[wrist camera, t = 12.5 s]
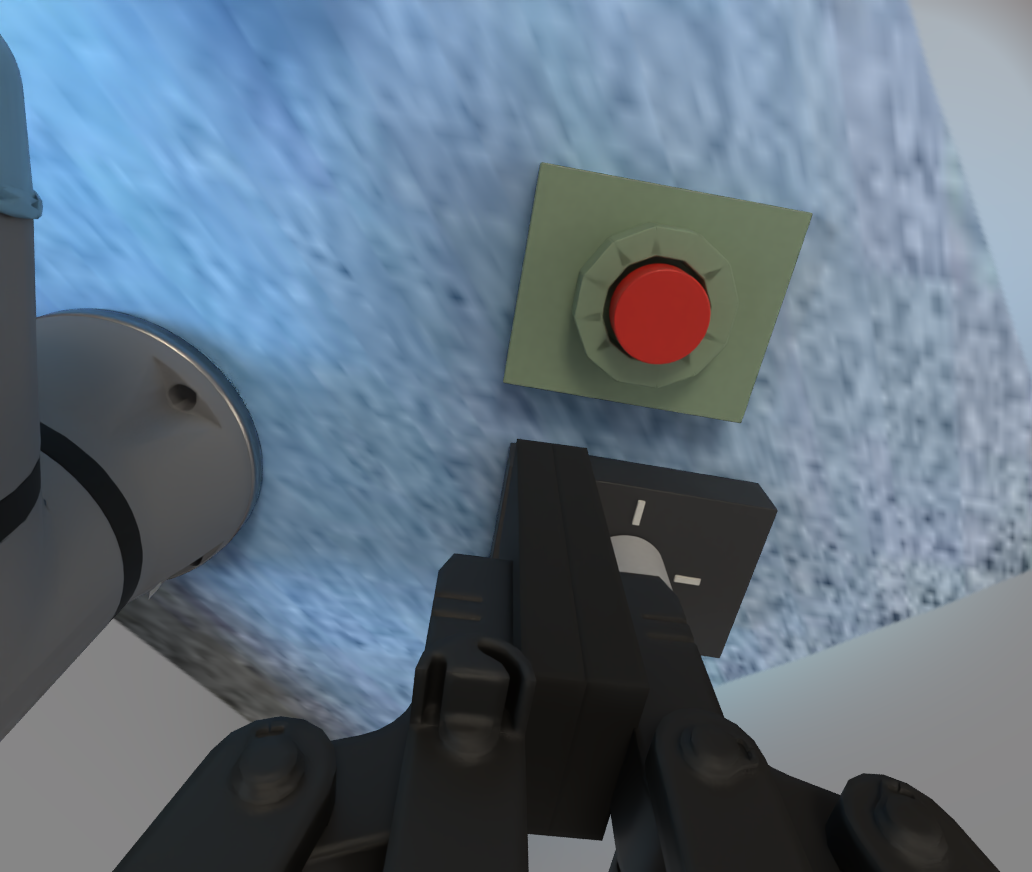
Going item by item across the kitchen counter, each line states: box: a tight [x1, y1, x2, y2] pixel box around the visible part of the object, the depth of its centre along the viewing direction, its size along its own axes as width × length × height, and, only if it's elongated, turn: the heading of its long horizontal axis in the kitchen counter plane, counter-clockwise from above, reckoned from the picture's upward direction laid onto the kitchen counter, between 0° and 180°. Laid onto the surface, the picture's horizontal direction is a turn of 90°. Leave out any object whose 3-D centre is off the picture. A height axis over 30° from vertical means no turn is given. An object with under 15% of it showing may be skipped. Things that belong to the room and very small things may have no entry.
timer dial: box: [610, 535, 673, 591], centre depth 30 cm, size 4×4×7 cm
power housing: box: [503, 162, 812, 423], centre depth 29 cm, size 12×10×4 cm
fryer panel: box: [490, 443, 777, 658], centre depth 35 cm, size 14×10×3 cm
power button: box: [609, 263, 711, 364], centre depth 27 cm, size 4×4×2 cm
